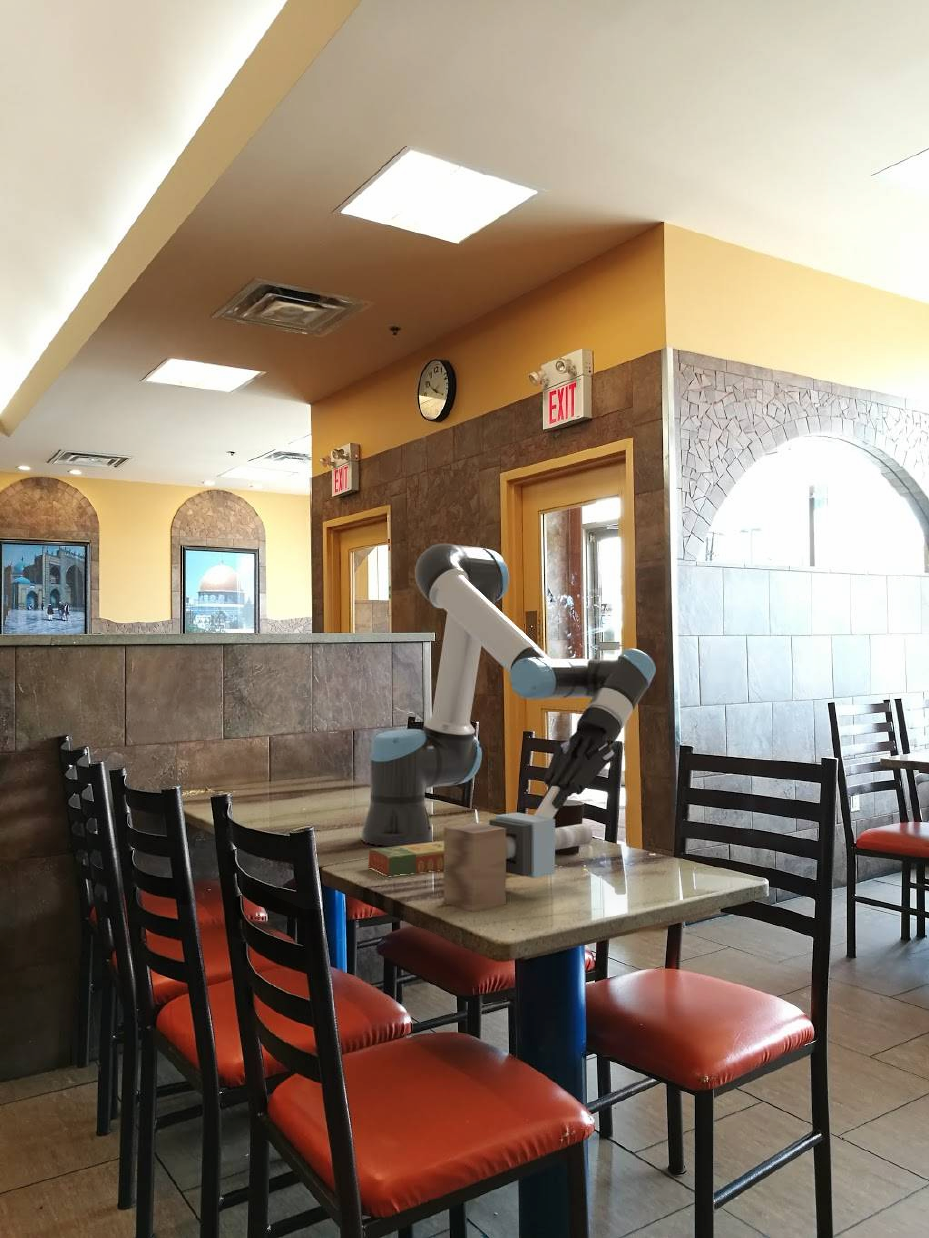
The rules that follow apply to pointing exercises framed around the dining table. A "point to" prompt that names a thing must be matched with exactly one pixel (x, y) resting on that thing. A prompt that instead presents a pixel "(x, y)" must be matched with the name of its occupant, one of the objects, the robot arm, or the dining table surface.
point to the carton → (408, 858)
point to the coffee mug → (569, 821)
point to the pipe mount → (488, 861)
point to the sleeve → (538, 842)
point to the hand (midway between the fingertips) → (540, 820)
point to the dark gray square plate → (518, 846)
